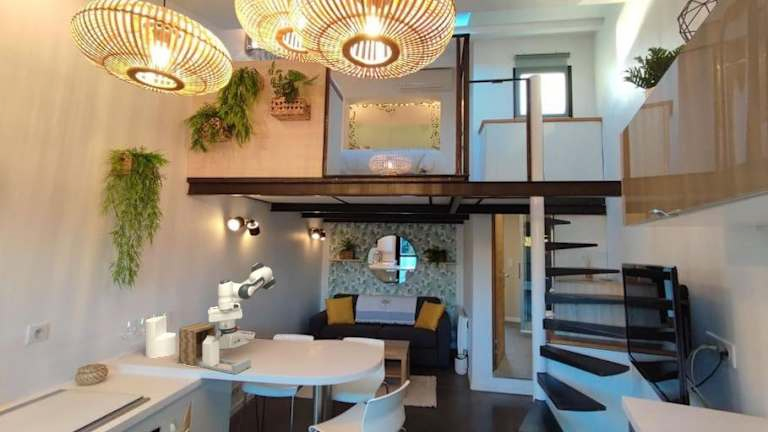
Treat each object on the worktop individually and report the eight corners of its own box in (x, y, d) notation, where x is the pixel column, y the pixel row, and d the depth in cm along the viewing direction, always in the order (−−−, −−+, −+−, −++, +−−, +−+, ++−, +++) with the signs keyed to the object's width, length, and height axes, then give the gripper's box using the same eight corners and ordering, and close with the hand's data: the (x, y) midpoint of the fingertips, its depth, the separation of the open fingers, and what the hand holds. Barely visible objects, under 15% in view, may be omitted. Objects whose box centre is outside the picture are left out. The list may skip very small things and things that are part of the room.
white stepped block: (139, 359, 258) (139, 322, 258) (154, 350, 276) (154, 316, 277) (168, 358, 259) (167, 321, 259) (180, 349, 278) (180, 315, 278)
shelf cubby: (179, 364, 246) (179, 328, 246) (200, 356, 261) (200, 322, 261) (194, 367, 240) (194, 330, 240) (215, 359, 255) (215, 324, 255)
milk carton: (210, 367, 239) (210, 338, 239) (202, 366, 242) (202, 336, 242) (219, 364, 245) (219, 335, 246) (211, 362, 248) (211, 333, 249)
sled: (198, 366, 241) (198, 358, 241) (214, 360, 252) (214, 352, 252) (235, 374, 227) (235, 365, 227) (250, 367, 238) (250, 359, 239)
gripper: (208, 308, 232) (208, 331, 231) (242, 304, 242) (243, 326, 242) (207, 306, 237) (207, 328, 237) (241, 302, 248) (241, 323, 247)
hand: (225, 327), depth 239 cm, fingers closed
